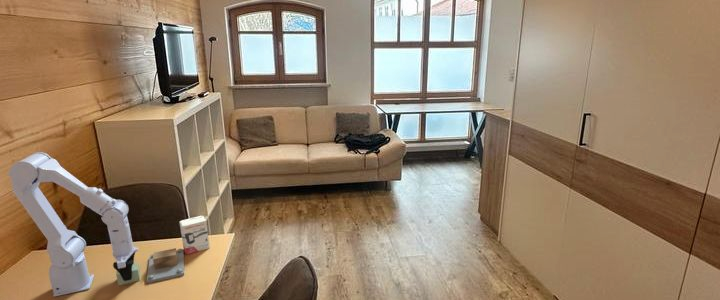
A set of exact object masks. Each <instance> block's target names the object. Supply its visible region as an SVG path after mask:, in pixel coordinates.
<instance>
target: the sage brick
mask: <svg viewBox="0 0 720 300" xmlns="http://www.w3.org/2000/svg"><path fill="white" fill-rule="evenodd" d="M139 266H140V265H139V262H136V263H135V262H134V264H133V265H132V279H131V280H128V281H124V280H123V278H122V277H121V275H120V273H119V272H118V271H117V270H116V273H115V276H116V280H117V284H118V286H123V285H126V284H127V285H128V284H130V283H134V282H137V281H138V282H139V281H141V272H140V271H141V270H140V267H139Z"/></svg>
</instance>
